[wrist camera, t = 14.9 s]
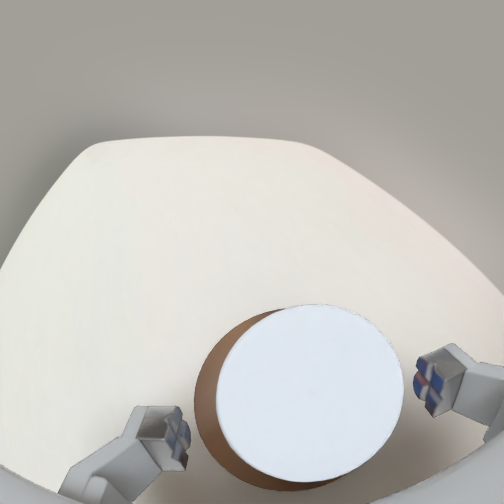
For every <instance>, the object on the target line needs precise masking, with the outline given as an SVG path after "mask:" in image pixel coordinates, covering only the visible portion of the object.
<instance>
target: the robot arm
mask: <svg viewBox="0 0 504 504" xmlns="http://www.w3.org/2000/svg"><path fill="white" fill-rule="evenodd" d="M416 367H417V369H418V371H417V373H416V374H415V376H414V380H413V387H414V391H415V394H416V396H417V397H418V398H419V399H420V400H423V401H425V408H426V409H427V411H428V412H429V413H430V415H431V416H432V417H433V418H435V417H437V416H439V415H441V414H443V413H445V412H447V411H449V410H451V409H452V411H454V412H457V413H459V414H461V415H463V416H466V417H468V418H470V419H472V420H475V421H477V422H479V423H482V424H484V425H487V426H489V428H488V430H487V431H486V433H485V435H484V438H483V440H484V441H485V444H484V445H482V446H481V447H480V448H478V449H477V450H475V451H474V452H472V453H471V454H469V455H468V456H466V457H465V458H463V459H461V460H460V461H458V462H456V463H455V464H453V465H451V466H450V467H448V468H446V469H444V470H443V471H441V472H439V473H437V474H435V475H433V476H431V477H429V478H427V479H425V480H423V481H421V482H419V483H417V484H415V485H413V486H411V487H408V488H406V489H404V490H401V491H399V492H397V493H394V494H392V495H389V496H387V497H384V498H381V499H379V500H376V501H373V502H370V503H367V504H504V367H502V366H497V365H492V364H488V363H483V362H480V363H477V362H476V361H475V360H473V359H472V358H471V357H470V356H469V355H468V354H466V353H465V352H464V351H463V350H462V349H461V348H459V347H458V346H457V345H456V344H454V343H450V344H448V345H446V346H444V347H442V348H440V349H437V350H435V351H433V352H430V353H428V354H426V355H423V356H421V357H419V358H418V360H417V363H416ZM190 444H191V432H190V429H189V426H188V424H187V422H185V421H184V420H182V412H181V410H180V408H179V407H177V406H139V405H137V406H136V407H134V409H133V411H132V413H131V416H130V418H129V420H128V422H127V425H126V427H125V429H124V431H123V434H122V436H121V437H116V438H115V439H114V440H112V441H111V442H109V443H108V444H106V445H105V446H103V447H102V448H100V449H99V450H97V451H96V452H94V453H93V454H91V455H90V456H88V457H86V458H85V459H83V460H82V461H80V462H79V463H77V464H75V465H74V466H72V467H71V468H70V469H69V471H68V473H67V475H66V477H65V479H64V481H63V483H62V485H61V487H60V489H59V491H58V493H55V492H53V491H51V490H49V489H46V488H44V487H42V486H40V485H38V484H36V483H34V482H32V481H30V480H28V479H26V478H24V477H22V476H20V475H18V474H16V473H15V472H13V471H11V470H9V469H8V468H6V467H4V466H3V465H1V464H0V504H132V502H133V501H134V500H135V499H136V498H137V497H138V496H139V495H140V494H141V493H142V492H143V491H144V490H145V489H146V488H147V487H148V486H149V485H150V484H151V483H152V482H153V481H154V480H155V479H156V478H157V477H158V476H159V475H160V473H161V472H162V470H165V471H186V466H187V461H188V455H187V453H186V452H185V451H186V450H187V449H188V448H189V447H190Z"/></svg>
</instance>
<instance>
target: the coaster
mask: <svg viewBox="0 0 504 504" xmlns="http://www.w3.org/2000/svg"><path fill="white" fill-rule="evenodd" d="M281 310H284V309H278V310H274V311H269V312H266V313H263V314H260V315H257V316H255V317H252V318H250V319H248V320H246V321H244V322H243V323H241V324H240V325H238V326H236V327H235V328H233V329H232V330H231V331H230V332H229V333H227V334H226V335H225V336H224V337H223V338H222V339H221V340H220V341H219V342H218V343H217V344H216V345H215V347H214V348H213V349H212V351H211V352H210V353H209V355H208V357H207V358H206V360H205V362H204V364H203V366H202V368H201V371H200V373H199V376H198V380H197V383H196V387H195V396H194V412H195V418H196V424H197V427H198V430H199V433H200V436H201V438H202V440H203V442H204V444H205V446H206V447H207V449H208V450H209V452H210V453H211V455H212V456H213V457H214V458H215V459H216V460H217V462H218V463H219V464H220V465H221V466H222V467H224V468H225V469H226V470H227V471H229V472H230V473H231V474H233V475H234V476H236V477H237V478H239V479H241V480H243V481H245V482H247V483H249V484H252V485H254V486H258V487H261V488H265V489H269V490H276V491H301V490H308V489H312V488H316V487H320V486H323V485H326V484H328V483H331V482H333V481H335V480H337V479H339V478H341V477H342V476H344V475H346V474H347V473H346V474H344V475H340V476H338V477H335V478H333V479H327V480H324V481H315V482H294V481H288V480H283V479H279V478H276V477H273V476H270V475H268V474H265V473H263V472H261V471H259V470H257V469H255V468H253V467H252V466H250V465H249V464H247V463H246V462H245V461H244V460H242V459H241V458H240V457H239V456H238V455H237V454H236V453H235V451H234V450H233V449H232V448H231V447H230V445H229V444H228V442H227V440H226V438H225V436H224V434H223V432H222V430H221V427H220V424H219V421H218V417H217V412H216V391H217V384H218V379H219V374H220V371H221V368H222V366H223V363H224V361H225V359H226V357H227V355H228V354H229V352H230V350H231V349H232V347H233V346H234V344H235V343H236V342H237V340H238V339H239V338H240V337H241V336H242V335H243V334H244V333H245V332H246V331H247V330H248V329H249V328H251V327H252V326H253V325H255V324H256V323H257V322H259V321H261V320H262V319H264V318H265V317H267V316H269V315H271V314H273V313H275V312H278V311H281ZM348 473H349V472H348Z"/></svg>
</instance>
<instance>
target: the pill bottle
mask: <svg viewBox="0 0 504 504" xmlns="http://www.w3.org/2000/svg"><path fill="white" fill-rule="evenodd" d="M403 397H404V381H403V374H402V368H401V365H400V362H399V359H398V356H397V354H396V352H395V350H394V348H393V346H392V345H391V343H390V342H389V340H388V339H387V338H386V337H385V335H384V334H383V333H382V332H381V331H380V330H379V329H378V328H377V327H376V326H375V325H373V324H372V323H371V322H370V321H368V320H367V319H366V318H364V317H362V316H361V315H358V314H356V313H353V312H351V311H349V310H346V309H343V308H340V307H336V306H331V305H318V304H309V305H301V306H294V307H290V308H287V309H284V310H281V311H278V312H275V313H273V314H271V315H269V316H267V317H265V318H264V319H262V320H261V321H259V322H257V323H256V324H255V325H253V326H252V327H251V328H249V329H248V330H247V331H246V332H245V333H244V334H243V335H242V336H241V337H240V338H239V339H238V340H237V342H236V343H235V344H234V346H233V347H232V349H231V350H230V352H229V354H228V355H227V357H226V359H225V361H224V363H223V366H222V368H221V371H220V374H219V379H218V384H217V391H216V412H217V417H218V421H219V424H220V427H221V430H222V432H223V434H224V436H225V438H226V440H227V442H228V444H229V445H230V447H231V448H232V449H233V450H234V451H235V453H236V454H237V455H238V456H239V457H240V458H241V459H242V460H244V461H245V462H246V463H247V464H249V465H250V466H252V467H253V468H255V469H257V470H259V471H261V472H263V473H265V474H268V475H270V476H273V477H276V478H279V479H283V480H288V481H294V482H315V481H324V480H327V479H333V478H335V477H338V476H340V475H344V474H346V473H348V472H350V471H352V470H354V469H356V468H357V467H359V466H360V465H362V464H363V463H365V462H366V461H367V460H369V459H370V458H371V457H372V456H373V455H375V454H376V453H377V452H378V451H379V449H380V448H381V447H382V446H383V445H384V443H385V442H386V441H387V439H388V438H389V437H390V435H391V433H392V431H393V429H394V427H395V426H396V424H397V421H398V418H399V415H400V412H401V408H402V403H403Z"/></svg>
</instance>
